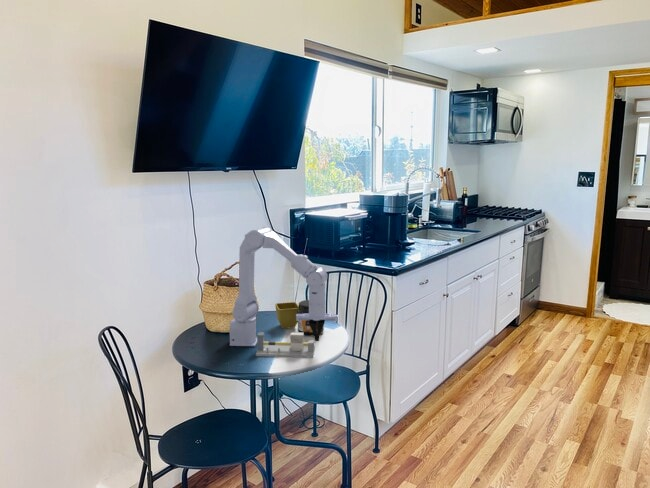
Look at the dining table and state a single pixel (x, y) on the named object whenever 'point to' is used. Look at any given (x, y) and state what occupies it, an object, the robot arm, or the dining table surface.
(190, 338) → the dining table surface
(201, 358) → the dining table surface
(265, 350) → the slider rail
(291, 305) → the flower pot
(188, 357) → the dining table surface
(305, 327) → the supplement container
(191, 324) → the dining table surface
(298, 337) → the sleeve
